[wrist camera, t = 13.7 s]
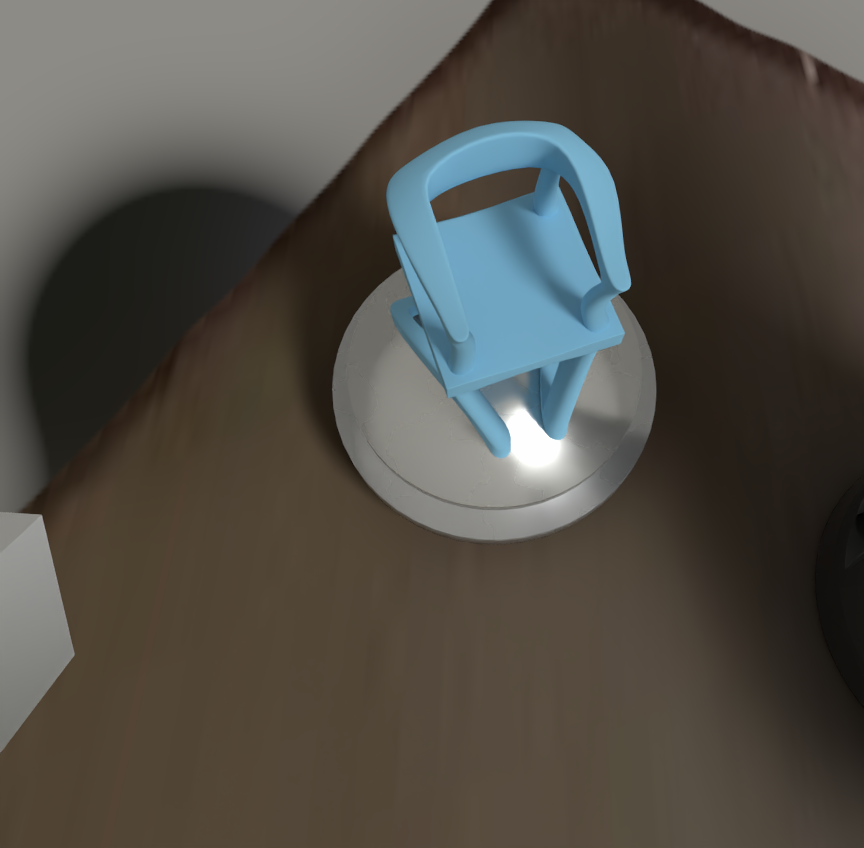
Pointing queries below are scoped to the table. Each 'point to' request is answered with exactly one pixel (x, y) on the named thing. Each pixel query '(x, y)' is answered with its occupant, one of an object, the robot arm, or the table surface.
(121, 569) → the table surface
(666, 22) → the table surface
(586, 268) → the chair
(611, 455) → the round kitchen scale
